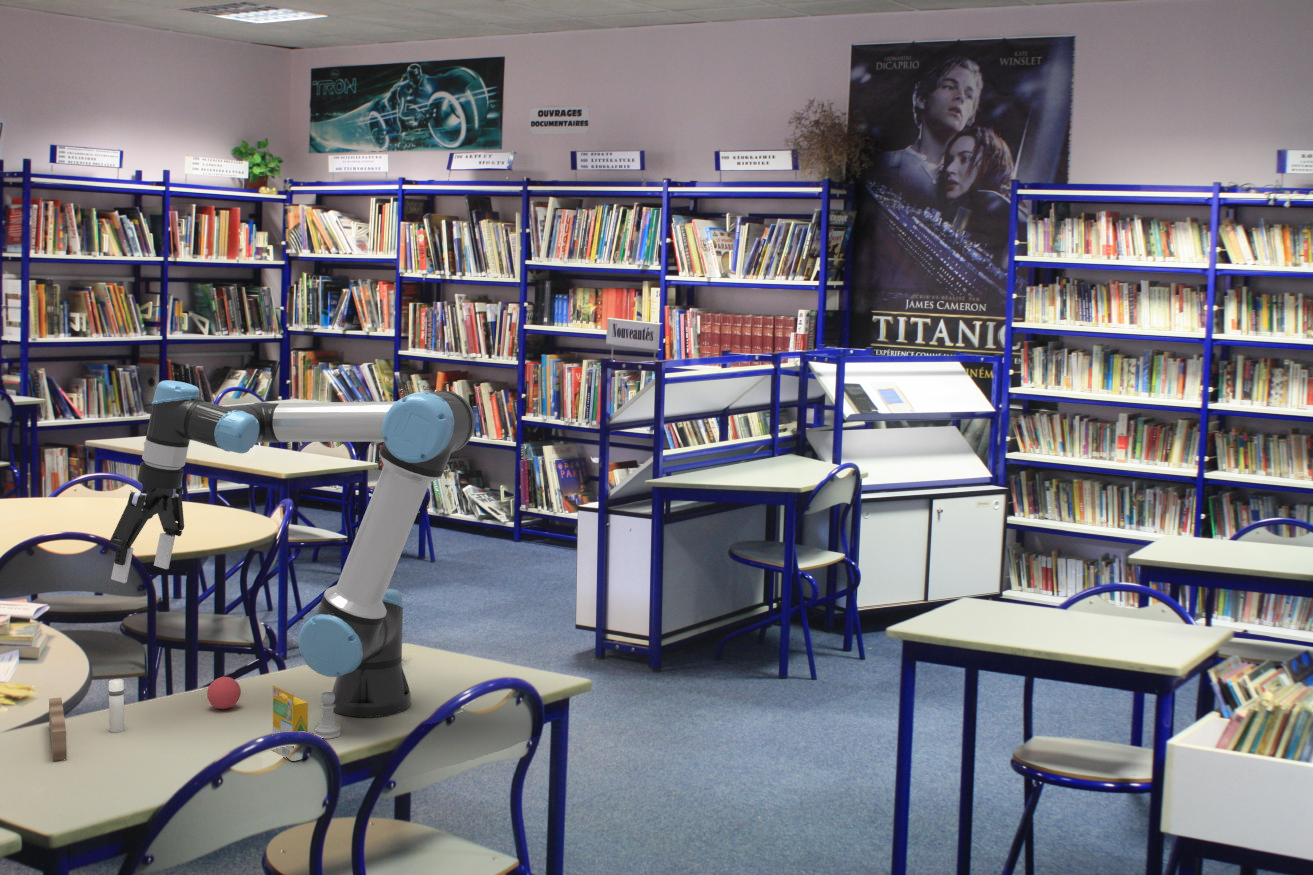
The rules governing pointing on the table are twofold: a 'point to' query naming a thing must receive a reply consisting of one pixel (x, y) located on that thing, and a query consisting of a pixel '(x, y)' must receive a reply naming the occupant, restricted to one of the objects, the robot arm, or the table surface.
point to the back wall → (57, 729)
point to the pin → (116, 705)
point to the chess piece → (328, 718)
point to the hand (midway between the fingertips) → (140, 573)
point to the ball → (223, 693)
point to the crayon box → (288, 716)
